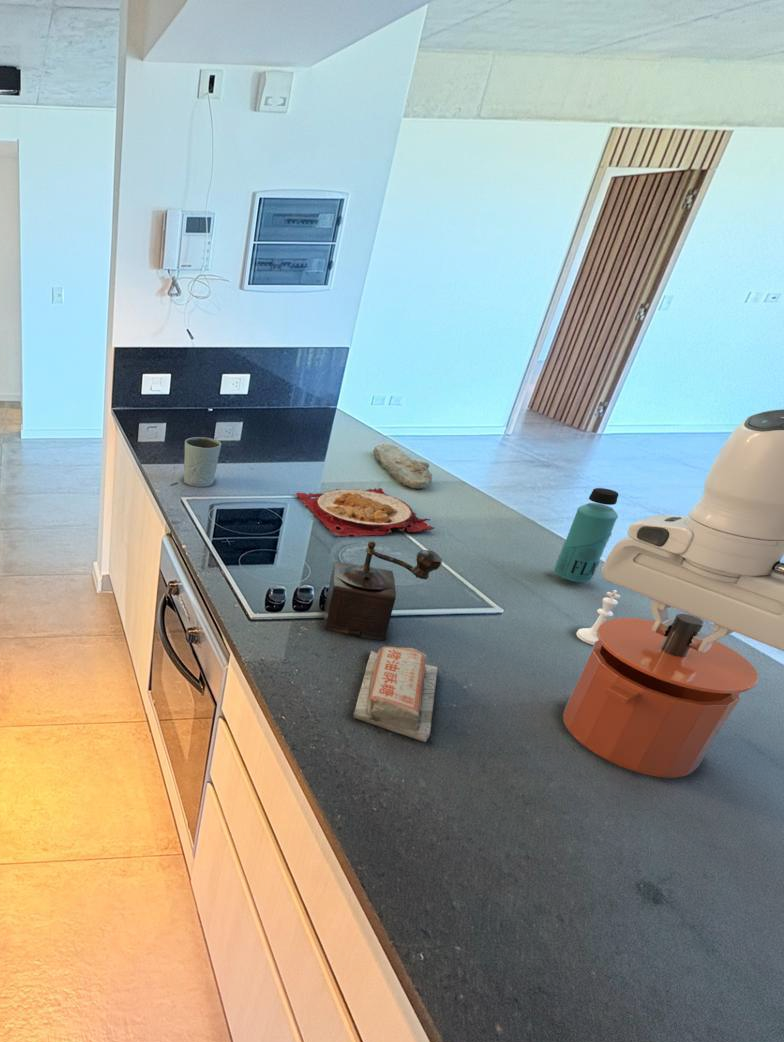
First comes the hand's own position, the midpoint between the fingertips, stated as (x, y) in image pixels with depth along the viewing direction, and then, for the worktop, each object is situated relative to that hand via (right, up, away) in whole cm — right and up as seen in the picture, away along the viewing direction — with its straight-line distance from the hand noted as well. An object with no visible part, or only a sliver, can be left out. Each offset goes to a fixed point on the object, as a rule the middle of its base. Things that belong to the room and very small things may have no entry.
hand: (678, 640), depth 80 cm
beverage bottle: (+24, +5, +47) cm, 53 cm away
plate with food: (-4, +20, +77) cm, 80 cm away
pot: (0, -15, +8) cm, 17 cm away
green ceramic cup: (-41, +30, +99) cm, 111 cm away
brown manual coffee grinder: (-24, -3, +33) cm, 41 cm away
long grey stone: (+21, +34, +106) cm, 113 cm away
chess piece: (+14, -5, +29) cm, 32 cm away
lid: (0, -2, +1) cm, 2 cm away
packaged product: (-28, -11, +16) cm, 34 cm away
